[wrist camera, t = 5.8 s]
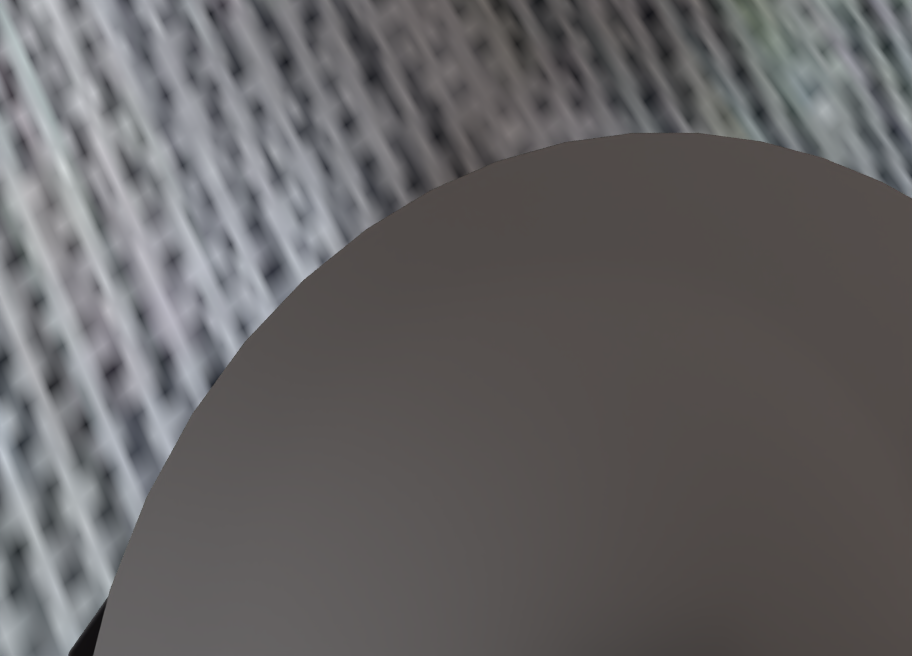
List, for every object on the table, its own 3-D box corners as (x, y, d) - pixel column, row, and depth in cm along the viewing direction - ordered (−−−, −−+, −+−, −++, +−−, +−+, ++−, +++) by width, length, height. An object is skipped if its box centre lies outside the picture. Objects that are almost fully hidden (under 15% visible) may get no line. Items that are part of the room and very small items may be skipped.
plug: (441, 660, 15) (1097, 1778, 2) (235, 551, 14) (-308, 1198, 2) (542, 453, 16) (1326, 459, 4) (355, 347, 16) (497, -67, 3)
